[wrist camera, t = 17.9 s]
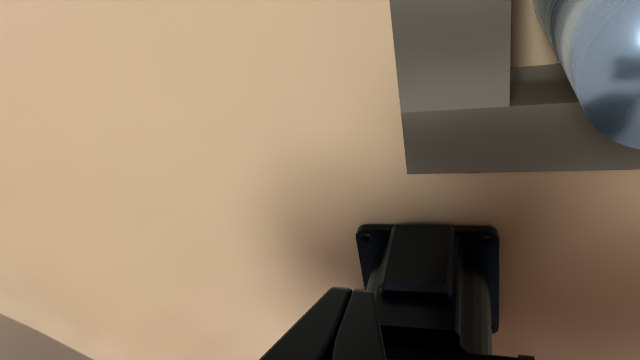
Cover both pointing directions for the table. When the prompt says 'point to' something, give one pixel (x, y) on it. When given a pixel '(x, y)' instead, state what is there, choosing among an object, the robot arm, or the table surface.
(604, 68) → the steel peg
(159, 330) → the table surface
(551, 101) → the hitch block
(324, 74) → the table surface
